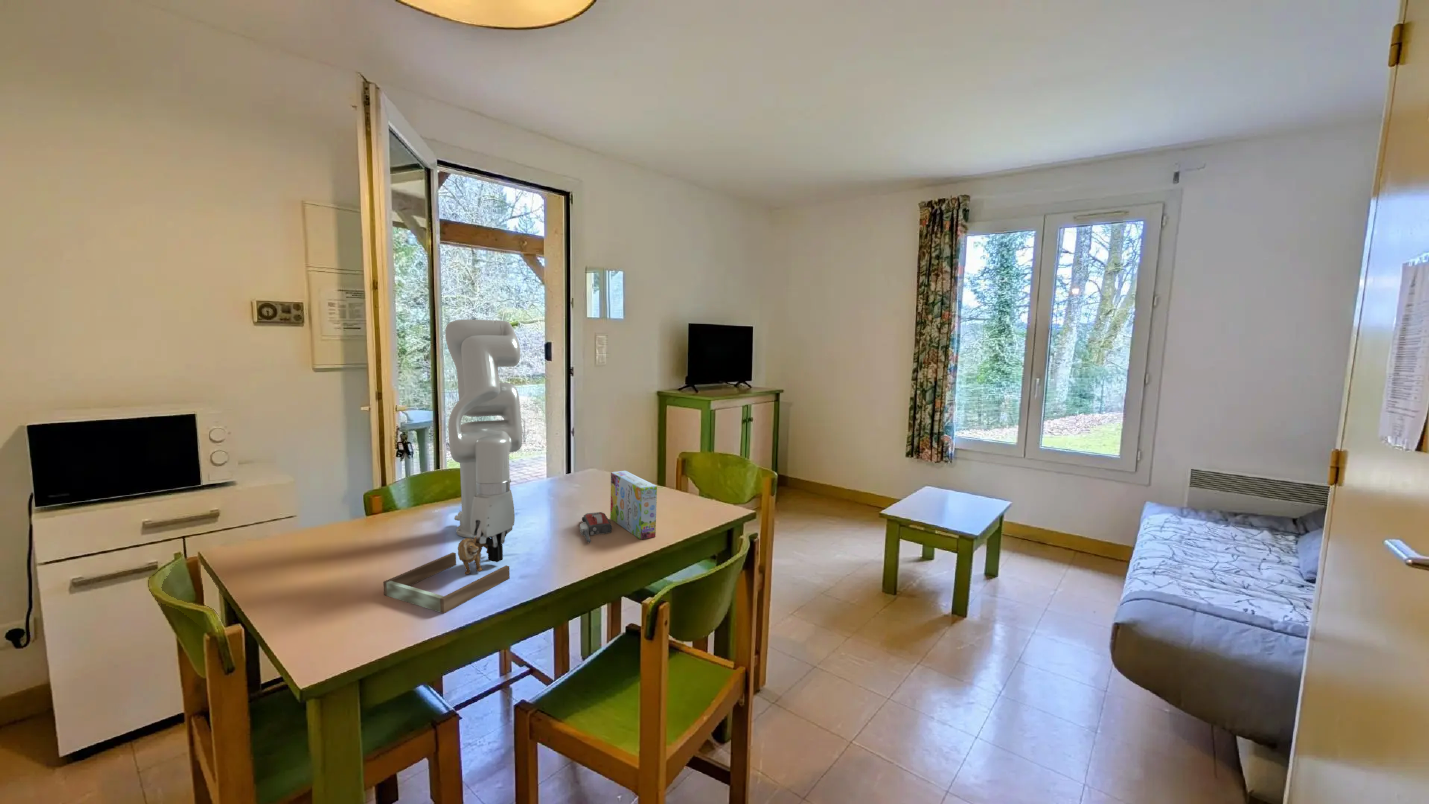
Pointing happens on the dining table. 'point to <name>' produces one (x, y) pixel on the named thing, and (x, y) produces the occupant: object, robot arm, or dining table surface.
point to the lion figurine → (470, 553)
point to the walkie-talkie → (594, 525)
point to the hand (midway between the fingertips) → (495, 560)
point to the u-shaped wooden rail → (403, 591)
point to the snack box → (633, 504)
